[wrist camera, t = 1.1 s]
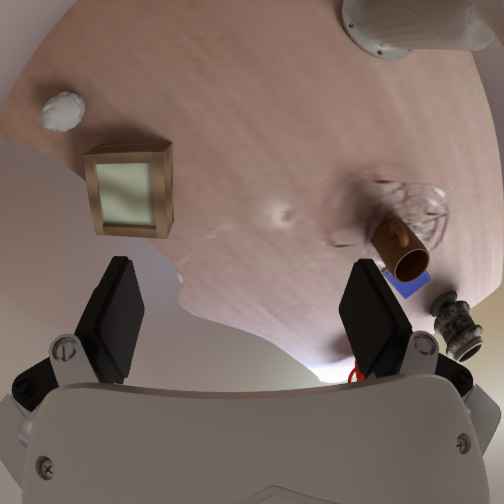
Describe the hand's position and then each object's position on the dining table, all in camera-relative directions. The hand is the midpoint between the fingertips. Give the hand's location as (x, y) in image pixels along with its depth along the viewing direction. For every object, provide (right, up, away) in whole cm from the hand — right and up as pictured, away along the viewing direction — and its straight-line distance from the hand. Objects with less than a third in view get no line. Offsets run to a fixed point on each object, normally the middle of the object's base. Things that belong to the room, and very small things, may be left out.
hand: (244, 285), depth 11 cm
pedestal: (-18, +12, +27) cm, 35 cm away
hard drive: (+34, -3, +42) cm, 54 cm away
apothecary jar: (+53, -13, +49) cm, 74 cm away
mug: (+25, +6, +34) cm, 42 cm away
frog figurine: (-26, +23, +19) cm, 40 cm away
